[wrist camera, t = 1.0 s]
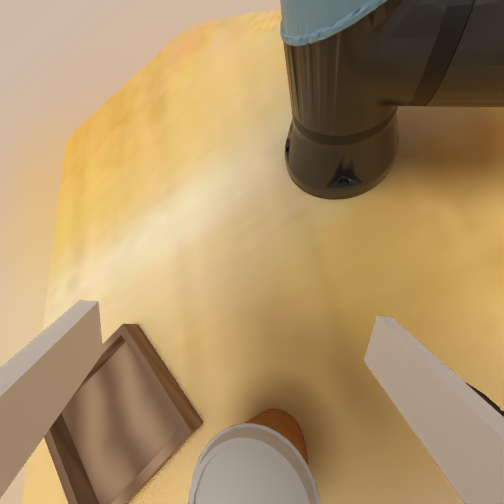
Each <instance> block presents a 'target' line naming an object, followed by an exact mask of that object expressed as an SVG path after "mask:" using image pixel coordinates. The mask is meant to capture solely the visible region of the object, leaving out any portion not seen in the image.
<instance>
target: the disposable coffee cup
mask: <svg viewBox="0 0 504 504" xmlns="http://www.w3.org/2000/svg"><path fill="white" fill-rule="evenodd" d="M188 504H320V499H319V494H318V490H317V486H316V484H315V481H314V478H313V476H312V473H311V471H310V469H309V466H308V460H307V454H306V449H305V443H304V437H303V434H302V431H301V429H300V427H299V425H298V424H297V422H296V421H295V420H294V419H293V418H292V417H291V416H290V415H289V414H287V413H286V412H284V411H281V410H277V409H269V410H266V411H263V412H262V413H260V414H258V415H257V416H255V417H254V418H252V419H250V420H249V421H247V422H245V423H242V424H238V425H233V426H230V427H228V428H226V429H224V430H223V431H221V432H220V433H218V434H217V435H216V436H215V437H214V438H213V439H211V440H210V442H209V443H208V444H207V446H206V447H205V448H204V450H203V451H202V453H201V455H200V457H199V459H198V461H197V464H196V467H195V470H194V473H193V478H192V483H191V489H190V494H189V502H188Z"/></svg>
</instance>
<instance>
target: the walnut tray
mask: <svg viewBox="0 0 504 504" xmlns="http://www.w3.org/2000/svg"><path fill="white" fill-rule="evenodd" d="M102 347H103V354H102V355H101V357H100V358H99V360H98V361H97V362H96V364H95V365H94V367H93V368H92V369H91V371H90V372H89V374H88V375H87V376H86V378H85V379H84V381H83V382H82V384H81V385H80V386H79V388H78V389H77V391H76V392H75V393H74V395H73V396H72V398H71V399H70V401H69V402H68V403H67V405H66V406H65V408H64V409H63V410H62V412H61V413H60V415H59V416H58V418H57V419H56V420H55V422H54V423H53V425H52V426H51V427H50V429H49V430H48V432H47V433H46V435H45V436H44V438H45V441H46V444H47V446H48V449H49V452H50V454H51V457H52V460H53V463H54V465H55V468H56V471H57V473H58V476H59V479H60V481H61V484H62V487H63V490H64V492H65V495H66V498H67V500H68V503H69V504H128V503H129V502H130V501H131V500H132V499H133V497H134V496H135V495H136V494H137V493H138V492H139V491H140V490H141V489H142V488H143V487H144V486H145V485H146V483H147V482H148V481H149V480H150V479H151V478H152V477H153V476H154V475H155V474H156V473H157V472H158V471H159V470H160V468H161V467H162V466H163V465H164V464H165V463H166V462H167V461H168V460H169V459H170V458H171V457H172V456H173V454H174V453H175V452H176V451H177V450H178V449H179V448H180V447H181V446H182V445H183V444H184V443H185V442H186V441H187V439H188V438H189V437H190V436H191V435H192V434H193V433H194V432H195V431H196V430H197V429H198V428H199V427H200V425H201V424H202V423H203V421H202V420H201V418H200V417H199V415H198V414H197V412H196V411H195V409H194V408H193V406H192V405H191V403H190V402H189V400H188V399H187V397H186V396H185V394H184V393H183V391H182V390H181V388H180V387H179V385H178V384H177V382H176V381H175V379H174V378H173V376H172V375H171V373H170V372H169V370H168V369H167V367H166V366H165V364H164V363H163V361H162V360H161V358H160V357H159V355H158V354H157V352H156V351H155V349H154V348H153V346H152V345H151V343H150V342H149V340H148V339H147V337H146V336H145V334H144V333H143V331H142V330H141V328H140V327H139V325H136V324H122V325H121V326H120V327H119V328H118V329H117V330H116V331H115V332H114V333H113V335H112V336H111V337H110V338H109V339H108V340H107V341H106V342H105V343H104V344H103V345H102Z"/></svg>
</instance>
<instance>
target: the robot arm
mask: <svg viewBox="0 0 504 504" xmlns="http://www.w3.org/2000/svg"><path fill="white" fill-rule="evenodd" d="M281 15H282V20H281V27H280V28H281V36H282V40H283V42H284V50H285V58H286V66H287V75H288V83H289V91H290V99H291V107H292V115H293V118H292V122H291V125H290V129H289V133H288V137H287V140H286V145H285V159H286V165H287V170H288V173H289V175H290V177H291V178H292V180H293V181H294V182H295V184H296V185H297V186H299V187H300V188H301V189H302V190H304V191H305V192H307V193H309V194H311V195H314V196H317V197H321V198H327V199H343V198H349V197H353V196H357V195H359V194H362V193H364V192H366V191H368V190H370V189H371V188H373V187H374V186H376V185H377V184H378V183H379V182H380V181H381V180H382V179H383V178H384V177H385V176H386V175H387V173H388V172H389V170H390V168H391V166H392V163H393V161H394V159H395V156H396V153H397V149H398V129H397V112H396V111H397V108H398V106H447V107H504V0H281ZM102 354H103V347H102V336H101V325H100V314H99V302H98V301H82V300H80V301H78V302H77V303H76V304H75V305H74V306H73V307H71V308H70V309H69V310H68V311H67V312H65V313H64V314H63V315H62V316H61V317H60V318H58V319H57V320H56V321H55V322H54V323H52V324H51V325H50V326H49V327H48V328H47V329H45V330H44V331H43V332H42V333H41V334H40V335H38V336H37V337H36V338H35V339H34V340H32V341H31V342H30V343H29V344H28V345H27V346H25V347H24V348H23V349H22V350H21V351H19V352H18V353H17V354H16V355H15V356H14V357H12V358H11V359H10V360H9V361H8V362H6V363H5V364H4V365H3V366H2V367H1V368H0V498H1V497H2V495H3V494H4V493H5V491H6V490H7V488H8V487H9V485H10V484H11V482H12V481H13V480H14V478H15V477H16V476H17V474H18V473H19V471H20V470H21V469H22V467H23V466H24V464H25V463H26V461H27V460H28V459H29V457H30V456H31V454H32V453H33V452H34V450H35V449H36V447H37V446H38V444H39V443H40V442H41V440H42V439H43V437H44V436H45V435H46V433H47V432H48V430H49V429H50V427H51V426H52V425H53V423H54V422H55V420H56V419H57V418H58V416H59V415H60V413H61V412H62V410H63V409H64V408H65V406H66V405H67V403H68V402H69V401H70V399H71V398H72V396H73V395H74V393H75V392H76V391H77V389H78V388H79V386H80V385H81V384H82V382H83V381H84V379H85V378H86V376H87V375H88V374H89V372H90V371H91V369H92V368H93V367H94V365H95V364H96V362H97V361H98V360H99V358H100V357H101V355H102ZM363 361H364V362H365V364H366V365H367V367H368V368H369V369H370V371H371V372H372V374H373V375H374V376H375V378H376V379H377V381H378V382H379V383H380V385H381V386H382V388H383V389H384V391H385V392H386V393H387V395H388V396H389V398H390V399H391V400H392V402H393V403H394V405H395V406H396V407H397V409H398V410H399V412H400V413H401V415H402V416H403V417H404V419H405V420H406V422H407V423H408V424H409V426H410V427H411V429H412V430H413V431H414V433H415V434H416V436H417V437H418V438H419V440H420V441H421V443H422V444H423V446H424V447H425V448H426V450H427V451H428V453H429V454H430V455H431V457H432V458H433V460H434V461H435V462H436V464H437V465H438V467H439V468H440V470H441V471H442V472H443V474H444V475H445V477H446V478H447V479H448V481H449V482H450V484H451V485H452V486H453V488H454V489H455V491H456V492H457V494H458V495H459V496H460V498H461V499H462V501H463V502H464V503H465V504H504V411H501V410H500V408H499V407H498V406H497V405H496V404H495V403H494V402H493V401H491V400H490V399H489V398H488V397H487V396H486V395H484V394H483V393H481V392H480V391H478V390H477V389H475V388H474V387H472V386H471V385H469V384H468V383H465V382H464V381H463V380H462V379H460V378H459V377H458V376H457V375H456V374H455V373H454V372H453V371H451V370H450V369H449V368H448V367H447V366H446V365H445V364H444V363H442V362H441V361H440V360H439V359H438V358H437V357H436V356H435V355H434V354H432V353H431V352H430V351H429V350H428V349H427V348H426V347H425V346H423V345H422V344H421V343H420V342H419V341H418V340H417V339H416V338H415V337H413V336H412V335H411V334H410V333H409V332H408V331H407V330H406V329H404V328H403V327H402V326H401V325H400V324H399V323H398V322H397V321H395V320H394V319H393V318H392V317H390V316H377V317H376V320H375V324H374V327H373V330H372V334H371V337H370V340H369V344H368V347H367V350H366V354H365V357H364V360H363Z"/></svg>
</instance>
